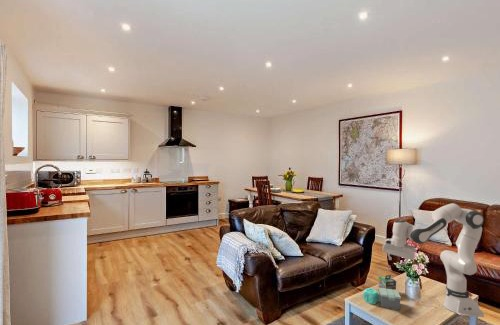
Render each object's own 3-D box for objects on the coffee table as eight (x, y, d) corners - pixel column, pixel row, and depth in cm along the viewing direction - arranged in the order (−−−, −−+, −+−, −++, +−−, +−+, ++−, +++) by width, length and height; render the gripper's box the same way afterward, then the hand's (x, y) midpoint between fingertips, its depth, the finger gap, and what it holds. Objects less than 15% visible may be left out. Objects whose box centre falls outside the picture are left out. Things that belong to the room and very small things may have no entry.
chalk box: (388, 289, 218) (388, 271, 218) (396, 295, 209) (396, 276, 209) (377, 290, 217) (378, 272, 216) (385, 296, 208) (386, 277, 207)
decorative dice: (362, 300, 202) (363, 289, 202) (369, 297, 206) (369, 287, 206) (372, 305, 195) (373, 294, 195) (378, 302, 200) (379, 291, 199)
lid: (397, 292, 199) (397, 289, 199) (402, 303, 185) (402, 299, 185) (378, 290, 203) (378, 286, 203) (382, 300, 189) (382, 296, 189)
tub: (396, 302, 199) (396, 291, 199) (399, 310, 190) (400, 298, 190) (378, 299, 203) (379, 289, 203) (381, 307, 193) (381, 296, 193)
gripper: (416, 245, 188) (415, 265, 188) (384, 238, 201) (383, 256, 202) (414, 247, 183) (413, 267, 184) (382, 240, 197) (381, 258, 197)
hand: (397, 261), depth 193 cm, fingers open, 8 cm apart
